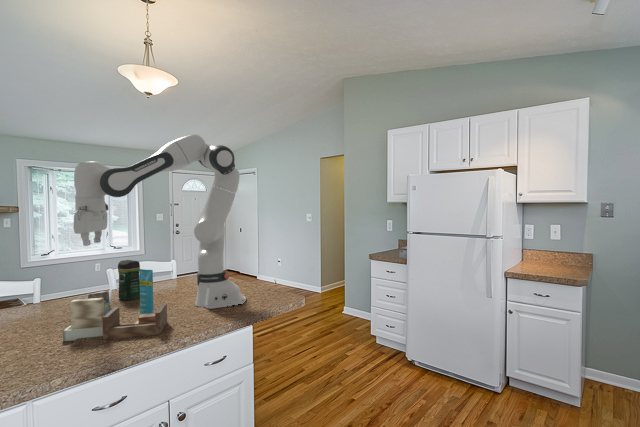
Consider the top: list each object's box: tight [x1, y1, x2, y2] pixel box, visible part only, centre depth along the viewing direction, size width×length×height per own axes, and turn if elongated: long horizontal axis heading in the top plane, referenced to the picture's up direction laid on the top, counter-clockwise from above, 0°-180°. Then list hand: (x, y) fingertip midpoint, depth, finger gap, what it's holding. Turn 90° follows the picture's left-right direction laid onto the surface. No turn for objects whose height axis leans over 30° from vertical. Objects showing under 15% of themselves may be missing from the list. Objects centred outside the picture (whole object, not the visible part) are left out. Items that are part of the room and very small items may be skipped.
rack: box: [102, 302, 168, 340], centre depth 117 cm, size 18×11×8 cm, turn 104°
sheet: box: [70, 298, 104, 329], centre depth 114 cm, size 9×2×12 cm, turn 104°
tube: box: [139, 268, 155, 316], centre depth 133 cm, size 7×5×19 cm, turn 72°
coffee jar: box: [117, 259, 141, 301], centre depth 159 cm, size 10×8×19 cm
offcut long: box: [134, 320, 156, 325], centre depth 120 cm, size 7×4×2 cm, turn 104°
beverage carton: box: [87, 291, 111, 316], centre depth 140 cm, size 8×19×7 cm, turn 34°
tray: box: [62, 324, 103, 342], centre depth 114 cm, size 12×6×4 cm, turn 104°
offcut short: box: [138, 312, 156, 324], centre depth 120 cm, size 6×4×2 cm
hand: (92, 244), depth 121 cm, fingers open, 8 cm apart
